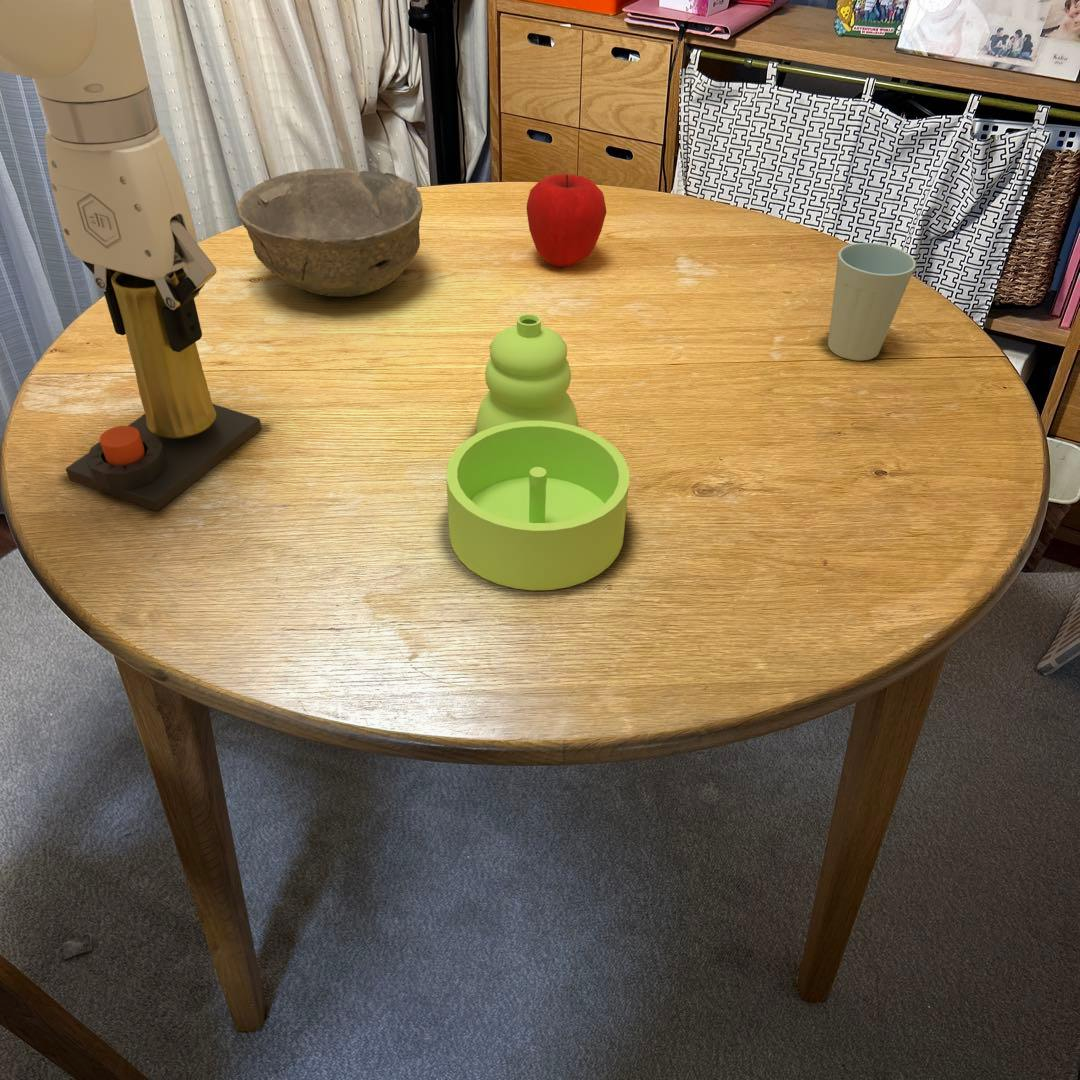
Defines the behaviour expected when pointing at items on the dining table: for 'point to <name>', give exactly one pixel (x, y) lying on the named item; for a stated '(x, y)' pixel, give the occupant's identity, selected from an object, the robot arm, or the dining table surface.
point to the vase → (162, 363)
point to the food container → (534, 474)
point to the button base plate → (165, 460)
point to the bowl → (334, 228)
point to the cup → (866, 297)
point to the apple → (565, 218)
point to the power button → (122, 445)
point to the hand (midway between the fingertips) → (159, 334)
